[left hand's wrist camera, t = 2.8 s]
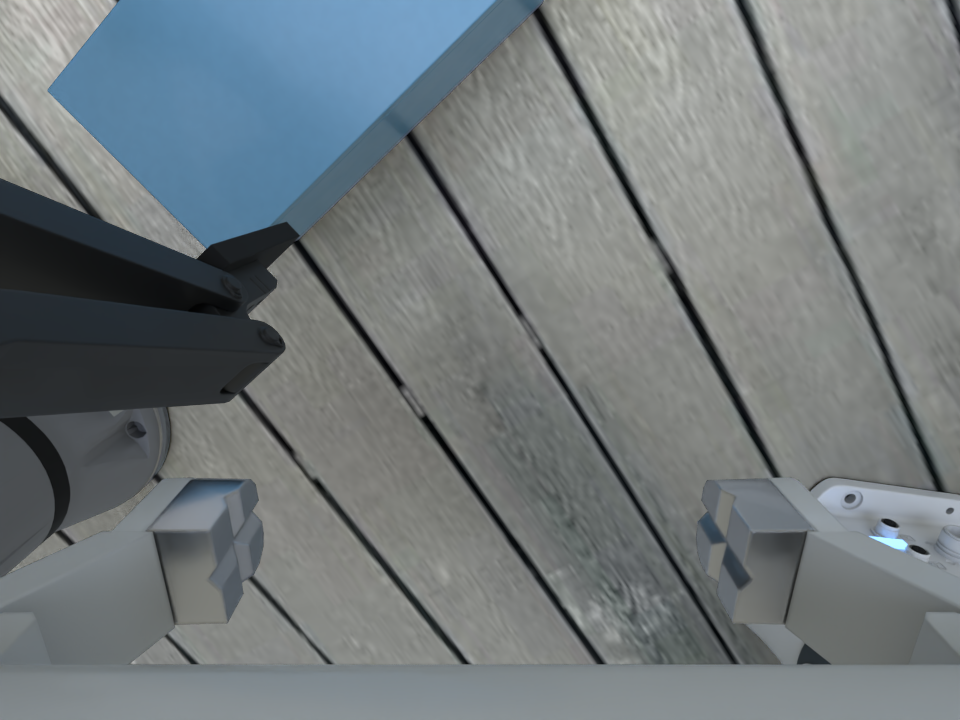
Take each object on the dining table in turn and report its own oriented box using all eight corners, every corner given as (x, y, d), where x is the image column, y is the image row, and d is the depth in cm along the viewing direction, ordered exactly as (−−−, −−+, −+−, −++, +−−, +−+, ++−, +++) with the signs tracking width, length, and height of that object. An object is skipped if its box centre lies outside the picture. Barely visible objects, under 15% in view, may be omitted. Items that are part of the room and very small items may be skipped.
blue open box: (420, -166, 32) (385, -333, 21) (542, 3, 34) (566, -69, 23) (176, 110, 36) (45, 90, 26) (298, 239, 39) (226, 269, 28)
